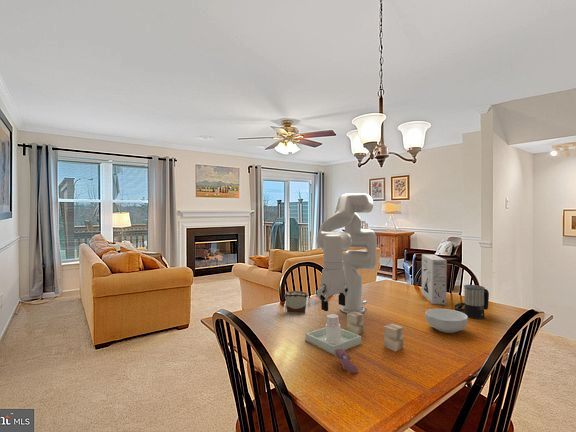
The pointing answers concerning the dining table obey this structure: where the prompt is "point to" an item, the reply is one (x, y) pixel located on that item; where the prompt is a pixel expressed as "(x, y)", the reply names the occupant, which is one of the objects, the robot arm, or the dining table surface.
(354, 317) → the maple block
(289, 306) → the food container
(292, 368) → the dining table surface
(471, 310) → the milk frother
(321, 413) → the dining table surface
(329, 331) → the downlight
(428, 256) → the cereal box
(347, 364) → the video game controller
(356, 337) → the tray
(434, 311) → the cereal bowl
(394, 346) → the maple block
